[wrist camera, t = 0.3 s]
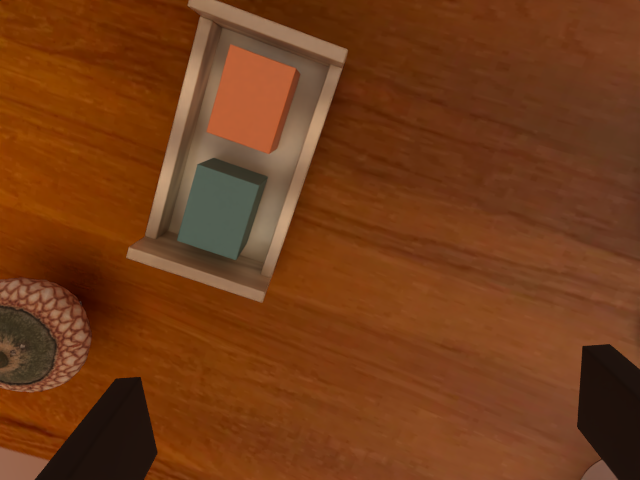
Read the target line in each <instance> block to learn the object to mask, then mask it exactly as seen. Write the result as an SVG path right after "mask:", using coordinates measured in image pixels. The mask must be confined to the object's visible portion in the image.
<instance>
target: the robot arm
mask: <svg viewBox="0 0 640 480" xmlns="http://www.w3.org/2000/svg"><path fill="white" fill-rule="evenodd" d="M577 427H578V429H579V430H580V431H581V433H582V434H583V435H584V436H585V438H586V439H587V440H588V442H589V443H590V444H591V445H592V447H593V448H594V449H595V451H596V452H597V453H598V455H599V456H600V457H601V458H602V460H603V461H604V462H605V464H606V465H607V466H608V467H609V469H610V470H611V471H612V473H613V474H614V475H615V476H616V478H617V479H618V480H640V369H639V368H637V367H636V366H635V365H634V364H633V363H631V362H630V361H629V360H628V359H627V358H625V357H624V356H623V355H622V354H621V353H620V352H618V351H617V350H616V349H615V348H614V347H612V346H611V345H610V344H606V345H592V346H583V348H582V363H581V378H580V393H579V407H578V422H577ZM156 455H157V448H156V444H155V439H154V435H153V430H152V426H151V422H150V417H149V413H148V408H147V404H146V399H145V395H144V390H143V386H142V381H141V377H133V378H119V379H115V381H114V382H113V383H112V384H111V385H110V387H109V388H108V389H107V390H106V392H105V393H104V394H103V395H102V397H101V398H100V399H99V400H98V402H97V403H96V404H95V405H94V407H93V408H92V409H91V410H90V412H89V413H88V414H87V415H86V417H85V418H84V419H83V420H82V422H81V423H80V424H79V425H78V427H77V428H76V429H75V430H74V432H73V433H72V434H71V435H70V437H69V438H68V439H67V440H66V441H65V443H64V444H63V445H62V446H61V448H60V449H59V450H58V451H57V453H56V454H55V455H54V456H53V458H52V459H51V460H50V461H49V463H48V464H47V465H46V466H45V468H44V469H43V470H42V471H41V473H40V474H39V475H38V476H37V478H36V479H35V480H144V478H145V476H146V474H147V472H148V471H149V469H150V467H151V465H152V463H153V461H154V459H155V457H156Z"/></svg>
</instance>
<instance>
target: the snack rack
mask: <svg viewBox="0 0 640 480" xmlns="http://www.w3.org/2000/svg"><path fill="white" fill-rule="evenodd" d="M188 7H190V8H191V9H192V10H194V11H195V12H196V13H198V14H199V15H200V18H199V22H198V26H197V30H196V34H195V38H194V42H193V46H192V50H191V54H190V58H189V62H188V66H187V70H186V74H185V78H184V82H183V86H182V90H181V94H180V98H179V102H178V106H177V110H176V114H175V118H174V122H173V126H172V130H171V134H170V138H169V142H168V146H167V150H166V154H165V158H164V161H163V165H162V169H161V173H160V177H159V181H158V185H157V189H156V193H155V197H154V201H153V205H152V209H151V213H150V217H149V221H148V225H147V229H146V233H145V237H143V238H142V239H140V240H139V241H137V242H136V243H134V244H133V245H131V246H130V247H129V249H128V253H127V258H128V259H131V260H134V261H137V262H140V263H143V264H146V265H149V266H152V267H155V268H158V269H161V270H164V271H167V272H170V273H173V274H176V275H179V276H182V277H185V278H189V279H192V280H195V281H198V282H201V283H204V284H207V285H210V286H213V287H216V288H219V289H222V290H225V291H228V292H231V293H234V294H237V295H240V296H243V297H246V298H249V299H252V300H255V301H258V302H263V300H264V297H265V294H266V292H267V289H268V286H269V283H270V281H271V278H272V275H273V272H274V270H275V267H276V264H277V261H278V258H279V255H280V252H281V249H282V246H283V243H284V240H285V237H286V234H287V231H288V228H289V225H290V223H291V220H292V217H293V214H294V211H295V208H296V205H297V202H298V199H299V196H300V193H301V190H302V187H303V184H304V181H305V178H306V176H307V173H308V170H309V167H310V164H311V161H312V158H313V155H314V152H315V149H316V146H317V143H318V140H319V137H320V134H321V131H322V128H323V126H324V123H325V120H326V117H327V114H328V111H329V108H330V105H331V102H332V99H333V96H334V93H335V90H336V87H337V84H338V81H339V79H340V76H341V73H342V70H343V67H344V64H345V61H346V57H347V53H348V49H345V48H343V47H340V46H337V45H335V44H332V43H329V42H327V41H324V40H321V39H319V38H316V37H313V36H311V35H308V34H305V33H303V32H300V31H297V30H294V29H292V28H289V27H286V26H284V25H281V24H278V23H276V22H273V21H270V20H268V19H265V18H262V17H260V16H257V15H254V14H252V13H249V12H246V11H244V10H241V9H238V8H235V7H233V6H230V5H227V4H225V3H222V2H219V1H217V0H189V2H188Z"/></svg>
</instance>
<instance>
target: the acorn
mask: <svg viewBox="0 0 640 480" xmlns="http://www.w3.org/2000/svg"><path fill="white" fill-rule="evenodd" d="M91 337H92V333H91V329H90V322H89V320H88V318H87V316H86V311H85V310H84V308H83V306H82V302H81V301H79V300H78V298H77V297H76V296H75V295H73V294H72V293H70V292H69V291H68V290H67V289H66V288H64V287H61V286H59V285H58V284H56V283H53V282H49V281H47V280H36V279H27V278H22V277H20V278H14V279H2V280H0V388H4V389H8V390H13V391H20V392H23V391H26V392H34V391H43V390H47V389H51V388H54V387H57V386H59V385H61V384H63V383H65V382H67V381H69V380H70V379H71V378H72V377H73V376H74V375H75V374H76V373H77V372H79V371H80V369H81V367H82V366H83V364H84V363H85V361H86V358H87V356H88V352H89V348H90V345H91Z"/></svg>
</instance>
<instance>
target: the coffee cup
mask: <svg viewBox="0 0 640 480" xmlns="http://www.w3.org/2000/svg"><path fill="white" fill-rule="evenodd" d="M581 480H618V479H617V478H616V476H615V475H614V474H613V473H612V471H611V470H610V469H609V467H608V466H607V465H606V464H605V462H604V461H603V460H600V461H598V462H597V463H595V464H594V465H593V466H591V467H590V468H589V469H588V470H587V471H586V473H585V474H584V476H583V477H582V479H581Z"/></svg>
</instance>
